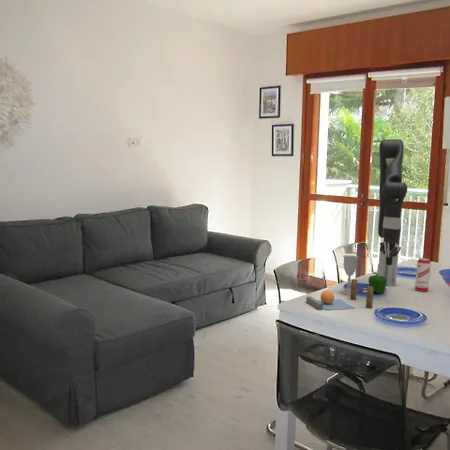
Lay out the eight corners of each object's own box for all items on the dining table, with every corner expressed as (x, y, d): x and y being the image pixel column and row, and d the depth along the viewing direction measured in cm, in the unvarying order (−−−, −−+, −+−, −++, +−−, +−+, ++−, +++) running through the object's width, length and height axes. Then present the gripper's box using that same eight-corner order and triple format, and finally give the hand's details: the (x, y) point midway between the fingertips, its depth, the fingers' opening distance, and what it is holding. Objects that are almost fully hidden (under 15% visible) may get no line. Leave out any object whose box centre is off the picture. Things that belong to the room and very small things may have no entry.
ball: (325, 286, 223) (333, 295, 224) (315, 295, 222) (324, 304, 224) (330, 289, 217) (339, 298, 218) (320, 299, 216) (329, 308, 218)
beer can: (429, 292, 245) (432, 260, 243) (416, 291, 246) (418, 259, 244) (427, 289, 251) (429, 258, 249) (413, 288, 252) (416, 257, 250)
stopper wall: (306, 302, 222) (306, 296, 222) (310, 301, 223) (310, 296, 222) (318, 310, 211) (318, 304, 210) (322, 309, 211) (323, 304, 211)
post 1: (349, 298, 230) (350, 279, 229) (354, 298, 231) (355, 279, 230) (352, 299, 228) (353, 280, 227) (357, 299, 229) (358, 280, 227)
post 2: (364, 306, 218) (366, 286, 217) (369, 306, 219) (371, 286, 217) (368, 308, 215) (369, 288, 214) (373, 308, 216) (374, 287, 215)
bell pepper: (386, 291, 245) (388, 271, 243) (384, 295, 237) (386, 275, 236) (369, 289, 248) (370, 269, 247) (366, 293, 241) (368, 272, 239)
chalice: (356, 292, 241) (359, 255, 239) (355, 295, 235) (358, 258, 233) (341, 290, 244) (343, 254, 241) (339, 294, 237) (342, 257, 235)
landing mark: (311, 301, 224) (311, 300, 224) (339, 299, 228) (339, 299, 228) (326, 310, 211) (326, 309, 211) (355, 308, 215) (355, 308, 215)
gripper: (375, 225, 228) (373, 262, 230) (393, 229, 215) (390, 268, 217) (390, 224, 230) (387, 261, 232) (408, 229, 217) (405, 268, 219)
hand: (388, 265), depth 225 cm, fingers closed
